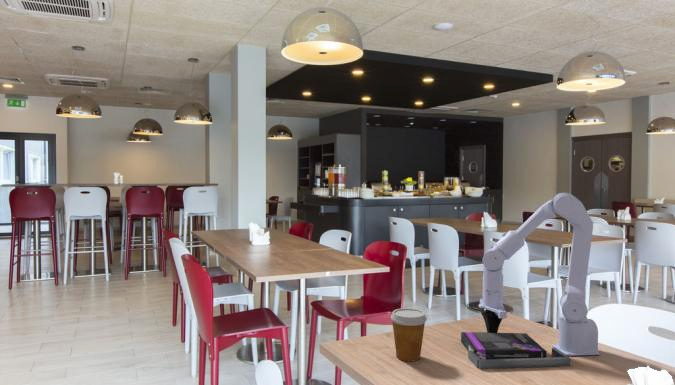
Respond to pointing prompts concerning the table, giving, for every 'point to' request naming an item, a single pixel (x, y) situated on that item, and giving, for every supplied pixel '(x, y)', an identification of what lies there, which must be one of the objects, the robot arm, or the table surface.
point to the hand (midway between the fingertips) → (492, 335)
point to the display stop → (522, 361)
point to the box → (502, 345)
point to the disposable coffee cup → (408, 333)
